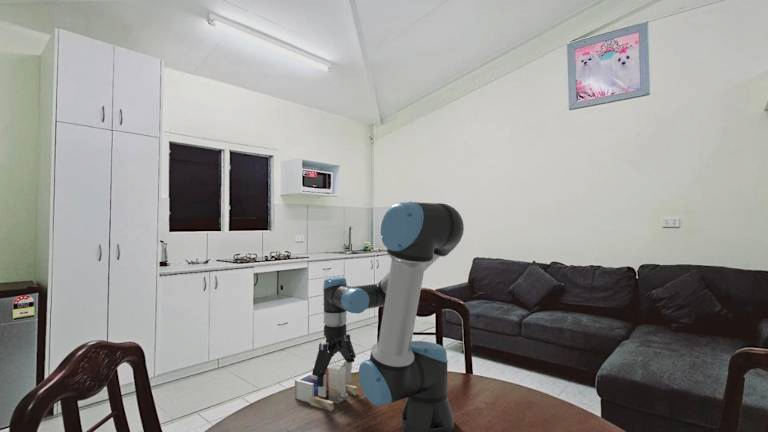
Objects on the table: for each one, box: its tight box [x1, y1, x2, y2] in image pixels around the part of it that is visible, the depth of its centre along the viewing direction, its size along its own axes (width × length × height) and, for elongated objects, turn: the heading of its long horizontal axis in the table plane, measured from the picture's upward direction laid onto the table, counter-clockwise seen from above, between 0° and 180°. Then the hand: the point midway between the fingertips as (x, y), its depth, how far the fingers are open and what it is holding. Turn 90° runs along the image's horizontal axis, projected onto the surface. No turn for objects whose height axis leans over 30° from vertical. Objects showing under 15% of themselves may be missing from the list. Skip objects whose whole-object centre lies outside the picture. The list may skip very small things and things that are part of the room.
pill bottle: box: [310, 364, 318, 397], centre depth 132 cm, size 6×5×10 cm
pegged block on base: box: [318, 363, 350, 405], centre depth 128 cm, size 10×6×11 cm, turn 59°
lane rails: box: [309, 383, 358, 412], centre depth 129 cm, size 9×14×2 cm, turn 149°
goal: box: [294, 371, 314, 404], centre depth 133 cm, size 8×12×6 cm, turn 149°
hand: (335, 388), depth 128 cm, fingers open, 13 cm apart
